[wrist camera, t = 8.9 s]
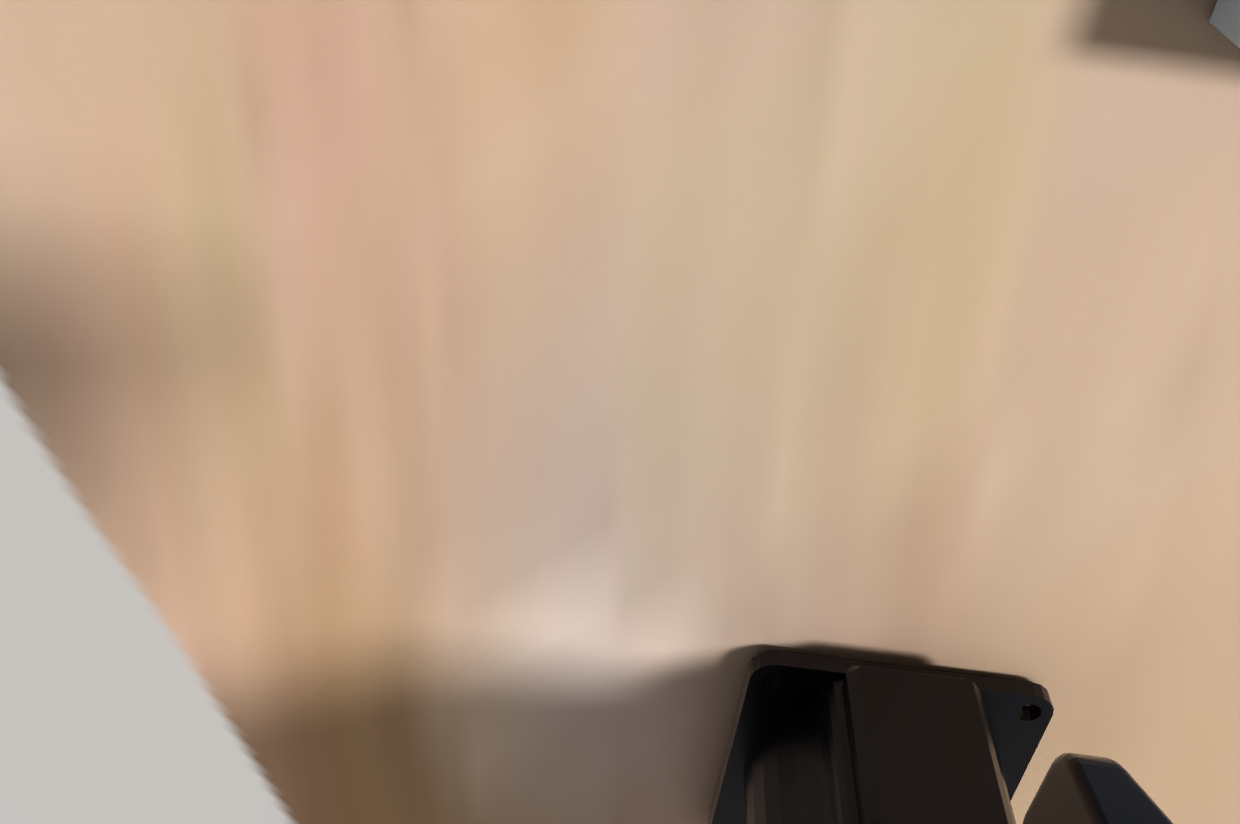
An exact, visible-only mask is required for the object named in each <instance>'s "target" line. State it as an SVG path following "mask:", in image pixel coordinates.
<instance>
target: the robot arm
mask: <svg viewBox="0 0 1240 824" xmlns="http://www.w3.org/2000/svg"><path fill="white" fill-rule="evenodd" d="M769 673H778V674H777V675H767V674H769ZM1025 705H1029V706H1025ZM1053 710H1054V709H1053V706H1052V703H1051V700H1050V696H1049V694H1048V691H1047V689H1046V688H1044V687H1043V686H1042V685H1040V684H1036V683H1032V682H1024V681H1016V680H1008V679H1000V678H992V677H984V676H976V675H968V674H960V673H952V672H944V671H935V670H927V669H919V668H911V667H903V666H895V665H887V664H879V663H871V662H863V661H855V660H847V659H839V658H831V657H822V656H814V655H806V654H798V653H790V652H782V651H766V652H763V653H759V654H758V655H756V656H755V657H754V658H752V660H751V662H750V664H749V667H748V671H747V675H746V679H745V682H744V686H743V690H742V694H741V698H740V702H739V705H738V709H737V713H736V717H735V721H734V725H733V728H732V732H731V736H730V740H729V744H728V748H727V751H726V755H725V759H724V763H723V767H722V771H721V775H720V778H719V782H718V786H717V790H716V794H715V798H714V801H713V805H712V809H711V813H710V817H709V821H708V824H1016V822H1015V818H1014V814H1013V810H1012V806H1011V802H1010V801H1011V799H1012V797H1013V795H1014V793H1015V791H1016V789H1017V786H1018V784H1019V782H1020V780H1021V778H1022V776H1023V774H1024V772H1025V770H1026V768H1027V766H1028V764H1029V762H1030V760H1031V758H1032V756H1033V754H1034V752H1035V750H1036V748H1037V746H1038V744H1039V742H1040V740H1041V738H1042V736H1043V734H1044V732H1045V730H1046V728H1047V726H1048V724H1049V722H1050V720H1051V718H1052V715H1053ZM1023 824H1173V823H1172V822H1171V820H1170V819H1169V818H1168V817H1167V816H1166V815H1165V814H1164V813H1163V811H1162V810H1161V809H1160V808H1159V807H1158V806H1157V805H1156V804H1155V802H1154V801H1153V800H1152V799H1151V798H1150V797H1149V796H1148V795H1147V793H1146V792H1145V791H1144V790H1143V789H1142V788H1141V787H1140V786H1139V784H1138V783H1137V782H1136V781H1135V780H1134V779H1133V778H1132V777H1131V775H1130V774H1129V773H1128V772H1127V771H1126V770H1125V769H1124V768H1123V767H1122V766H1121V765H1120V764H1118V763H1117V762H1115V761H1114V760H1111V759H1108V758H1104V757H1097V756H1089V755H1081V754H1074V753H1064V754H1062V755H1060V756H1059V757H1057V758H1056V759H1055V760H1054V762H1053V763H1052V765H1051V767H1050V769H1049V771H1048V772H1047V774H1046V776H1045V778H1044V780H1043V782H1042V784H1041V786H1040V788H1039V790H1038V792H1037V794H1036V795H1035V797H1034V799H1033V801H1032V803H1031V805H1030V807H1029V809H1028V811H1027V813H1026V815H1025V818H1024V821H1023Z"/></svg>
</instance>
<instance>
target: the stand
mask: <svg viewBox="0 0 1240 824" xmlns="http://www.w3.org/2000/svg"><path fill="white" fill-rule="evenodd" d="M1209 23H1210V24H1211V25H1213V26H1214V27H1215V28H1216V29H1217V30H1218V31H1220V32H1221V33H1222V34H1223V35H1224V36H1226V37H1227V38H1228V39H1229V40H1230V41H1231V42H1233V43H1234V44H1235V45H1236V46H1237V47H1238V48H1240V0H1218V1H1217V3H1216V6H1215V8H1214V11H1213V13H1212V16H1211V18H1210V21H1209Z"/></svg>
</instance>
